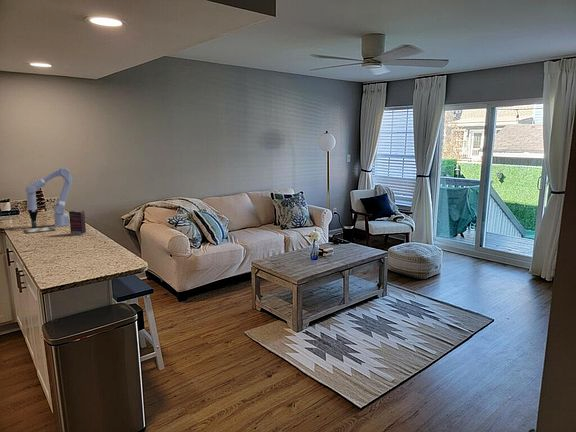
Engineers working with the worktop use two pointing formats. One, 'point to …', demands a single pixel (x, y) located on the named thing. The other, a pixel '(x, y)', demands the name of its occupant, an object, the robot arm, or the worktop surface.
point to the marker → (33, 224)
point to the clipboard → (39, 230)
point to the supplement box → (77, 222)
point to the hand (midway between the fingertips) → (33, 220)
